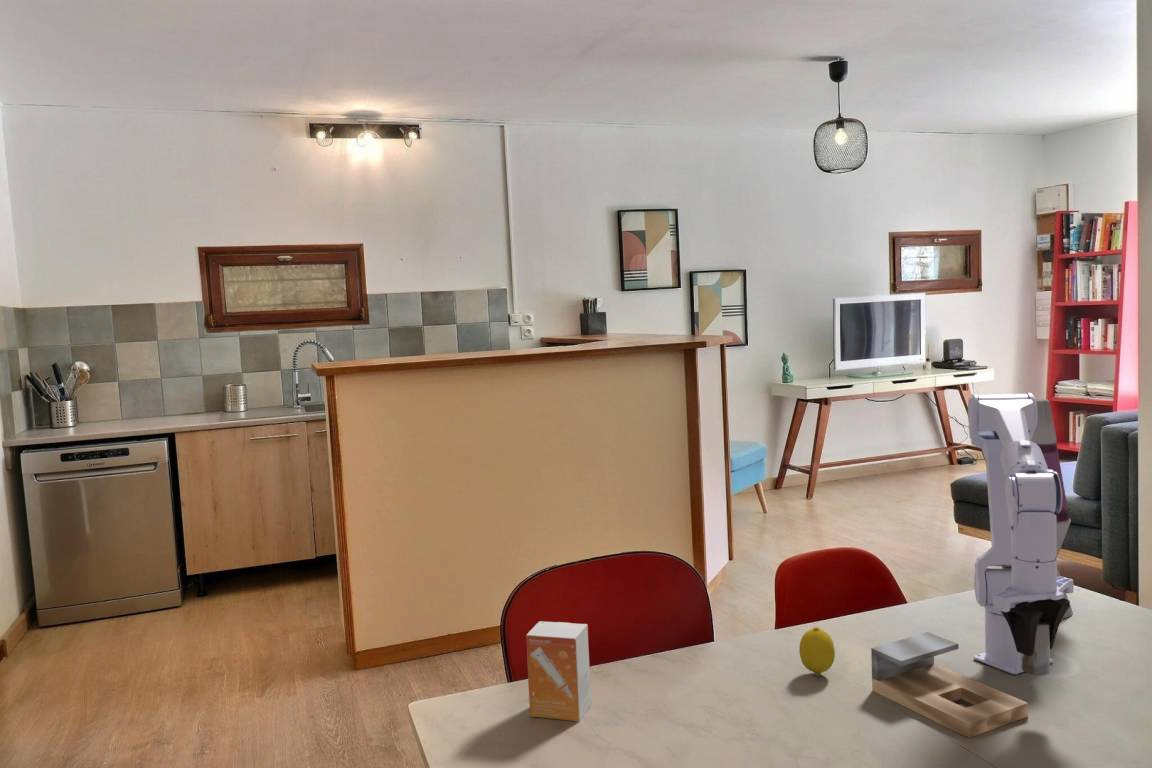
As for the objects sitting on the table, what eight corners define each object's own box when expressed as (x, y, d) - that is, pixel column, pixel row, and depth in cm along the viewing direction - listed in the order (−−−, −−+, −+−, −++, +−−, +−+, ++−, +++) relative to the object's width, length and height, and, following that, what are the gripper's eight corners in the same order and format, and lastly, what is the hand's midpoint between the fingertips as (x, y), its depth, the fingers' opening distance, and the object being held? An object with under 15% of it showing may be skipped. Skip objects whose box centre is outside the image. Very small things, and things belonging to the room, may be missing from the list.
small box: (529, 717, 136) (524, 634, 135) (543, 699, 142) (538, 619, 141) (580, 722, 134) (575, 638, 133) (592, 704, 140) (588, 622, 139)
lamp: (1001, 600, 176) (999, 397, 172) (1060, 600, 174) (1059, 395, 170) (1018, 619, 165) (1016, 404, 162) (1082, 620, 163) (1081, 402, 160)
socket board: (928, 673, 144) (927, 632, 144) (1028, 716, 128) (1027, 670, 128) (872, 690, 139) (871, 648, 139) (969, 738, 123) (968, 690, 123)
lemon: (836, 682, 143) (835, 633, 142) (800, 681, 144) (799, 633, 143) (833, 668, 148) (832, 621, 147) (799, 667, 149) (798, 620, 149)
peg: (1032, 662, 130) (1031, 615, 130) (1055, 671, 127) (1055, 623, 127) (1015, 668, 129) (1015, 621, 128) (1038, 677, 126) (1038, 628, 125)
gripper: (1024, 572, 120) (1025, 671, 121) (1093, 554, 126) (1094, 647, 127) (979, 560, 126) (981, 654, 127) (1047, 543, 133) (1048, 632, 134)
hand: (1034, 650), depth 128 cm, fingers closed on peg, 4 cm apart
